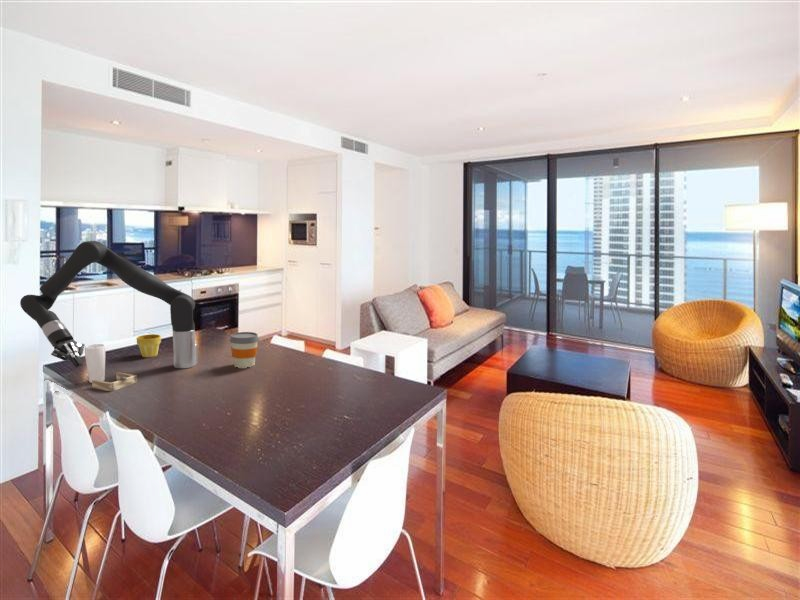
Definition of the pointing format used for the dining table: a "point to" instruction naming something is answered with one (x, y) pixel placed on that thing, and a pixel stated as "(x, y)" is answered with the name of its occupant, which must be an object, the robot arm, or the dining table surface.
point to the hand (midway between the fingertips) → (80, 365)
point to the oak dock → (122, 382)
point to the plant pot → (149, 344)
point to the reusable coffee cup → (244, 348)
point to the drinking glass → (95, 361)
